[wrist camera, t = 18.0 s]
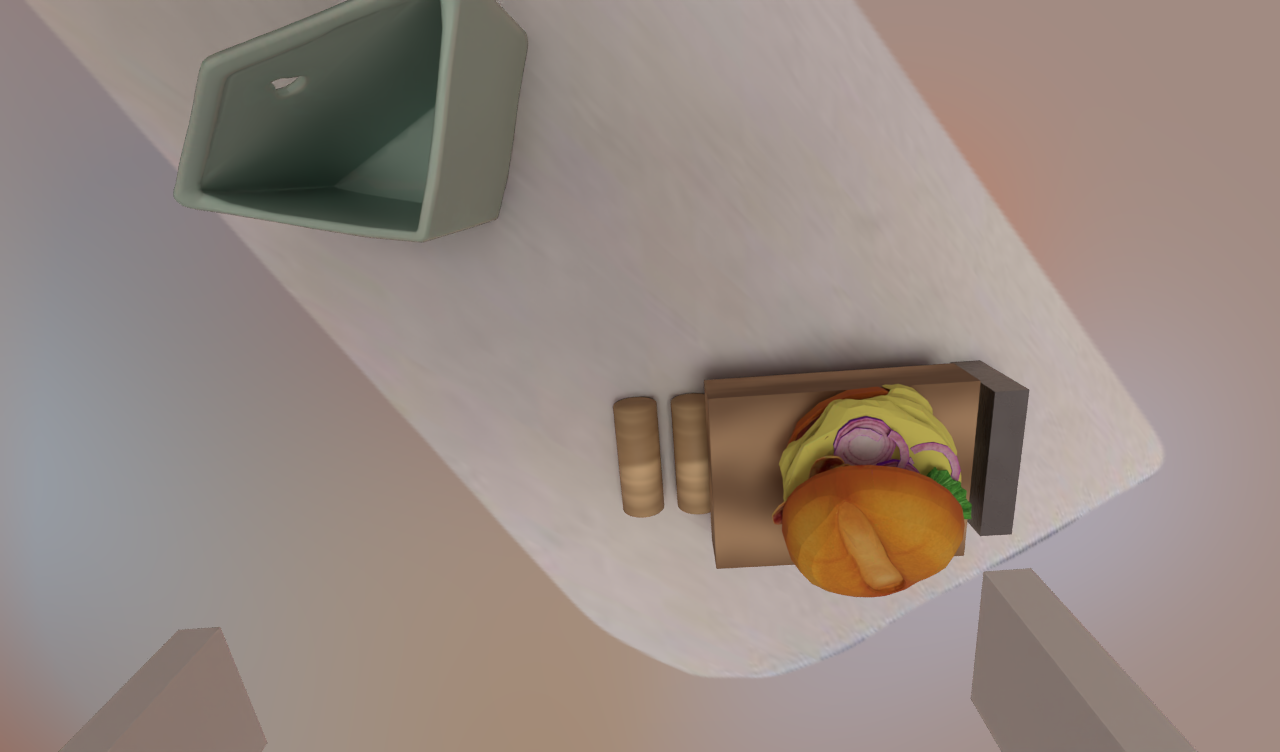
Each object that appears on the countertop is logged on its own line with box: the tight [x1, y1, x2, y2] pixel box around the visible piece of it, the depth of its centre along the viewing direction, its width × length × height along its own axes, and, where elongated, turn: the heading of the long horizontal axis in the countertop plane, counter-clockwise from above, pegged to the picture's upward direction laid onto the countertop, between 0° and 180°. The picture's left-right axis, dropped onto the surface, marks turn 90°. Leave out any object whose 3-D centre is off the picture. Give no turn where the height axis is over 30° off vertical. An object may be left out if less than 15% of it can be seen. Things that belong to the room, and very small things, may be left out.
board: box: [704, 363, 981, 569], centre depth 41 cm, size 12×16×4 cm
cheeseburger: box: [772, 384, 972, 597], centre depth 35 cm, size 10×11×10 cm
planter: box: [173, 0, 528, 243], centre depth 31 cm, size 16×8×20 cm, turn 124°
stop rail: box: [950, 361, 1029, 536], centre depth 42 cm, size 10×2×6 cm, turn 5°
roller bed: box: [613, 393, 711, 517], centre depth 44 cm, size 8×23×3 cm, turn 94°
